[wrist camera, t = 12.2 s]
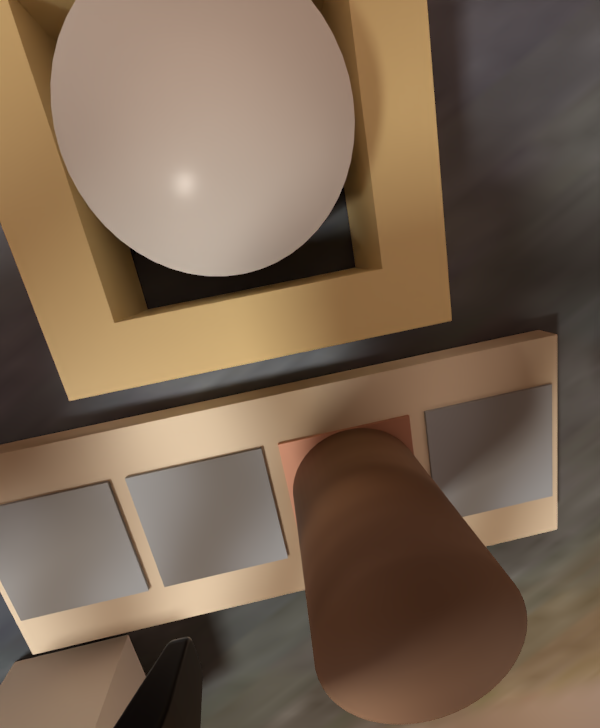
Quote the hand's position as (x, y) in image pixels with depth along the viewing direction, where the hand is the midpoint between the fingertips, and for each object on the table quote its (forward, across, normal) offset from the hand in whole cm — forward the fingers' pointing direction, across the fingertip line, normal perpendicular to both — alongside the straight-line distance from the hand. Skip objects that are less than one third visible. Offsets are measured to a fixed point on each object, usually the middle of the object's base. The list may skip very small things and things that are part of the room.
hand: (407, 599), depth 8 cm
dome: (+4, +2, -9) cm, 11 cm away
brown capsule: (+4, 0, 0) cm, 4 cm away
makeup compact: (+5, +2, 0) cm, 6 cm away
